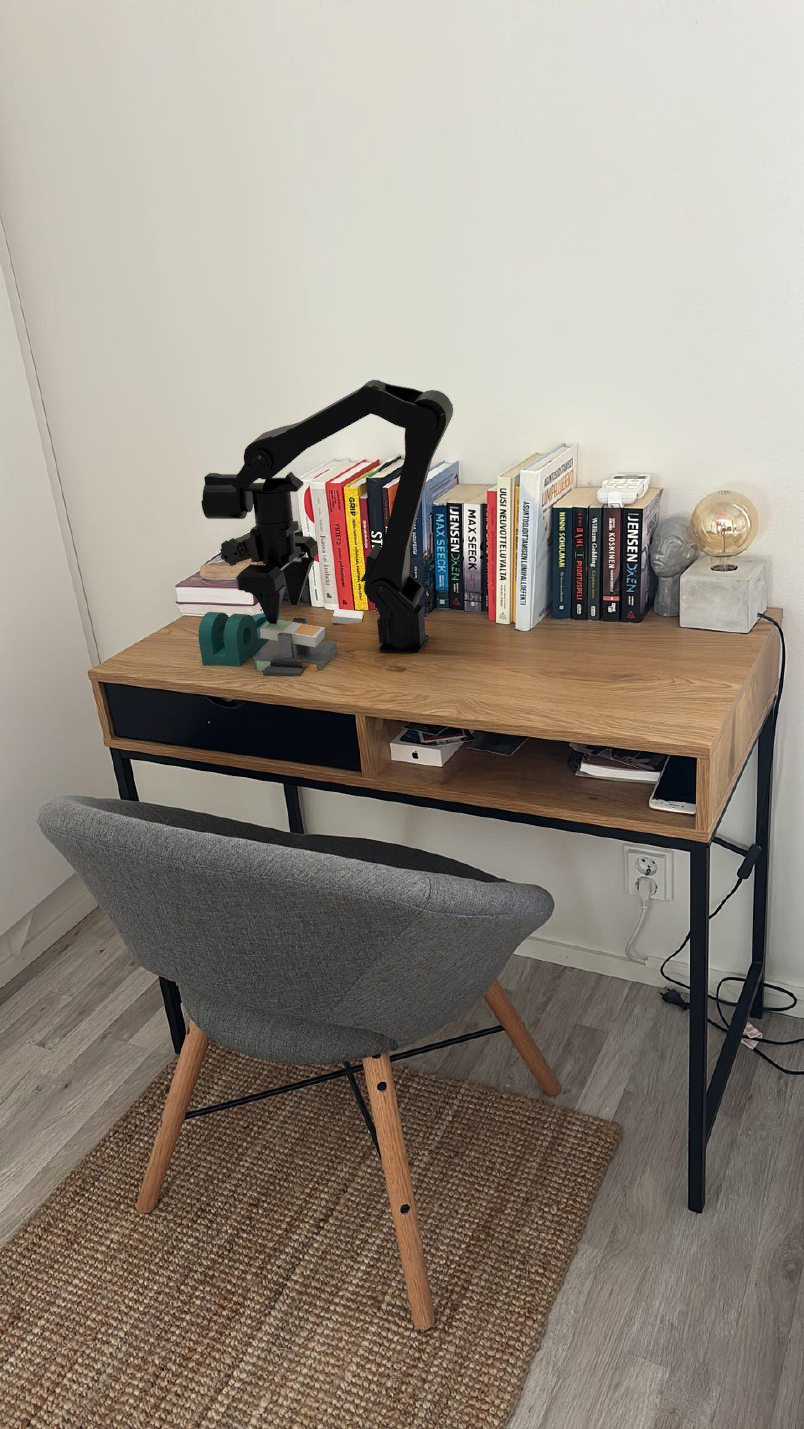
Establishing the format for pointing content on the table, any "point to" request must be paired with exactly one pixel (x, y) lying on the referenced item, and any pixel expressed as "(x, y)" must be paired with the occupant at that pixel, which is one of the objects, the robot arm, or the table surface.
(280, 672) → the dark grey rectangular bar
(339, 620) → the eraser
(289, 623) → the rocker switch
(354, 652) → the table surface
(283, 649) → the grey stand
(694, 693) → the table surface
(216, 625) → the bracket
